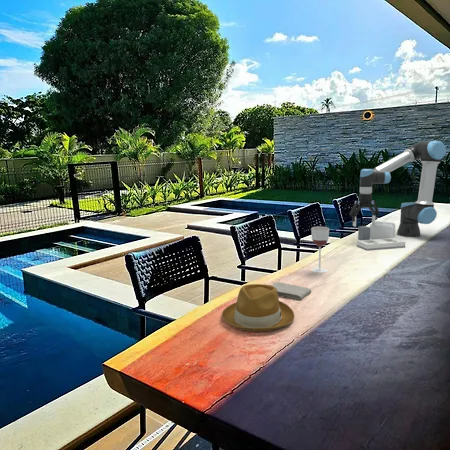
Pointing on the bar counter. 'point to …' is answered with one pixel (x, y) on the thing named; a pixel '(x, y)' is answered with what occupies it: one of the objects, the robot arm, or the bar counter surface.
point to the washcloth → (291, 291)
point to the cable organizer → (382, 230)
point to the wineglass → (320, 243)
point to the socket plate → (380, 244)
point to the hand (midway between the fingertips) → (363, 225)
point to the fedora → (258, 309)
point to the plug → (363, 233)
